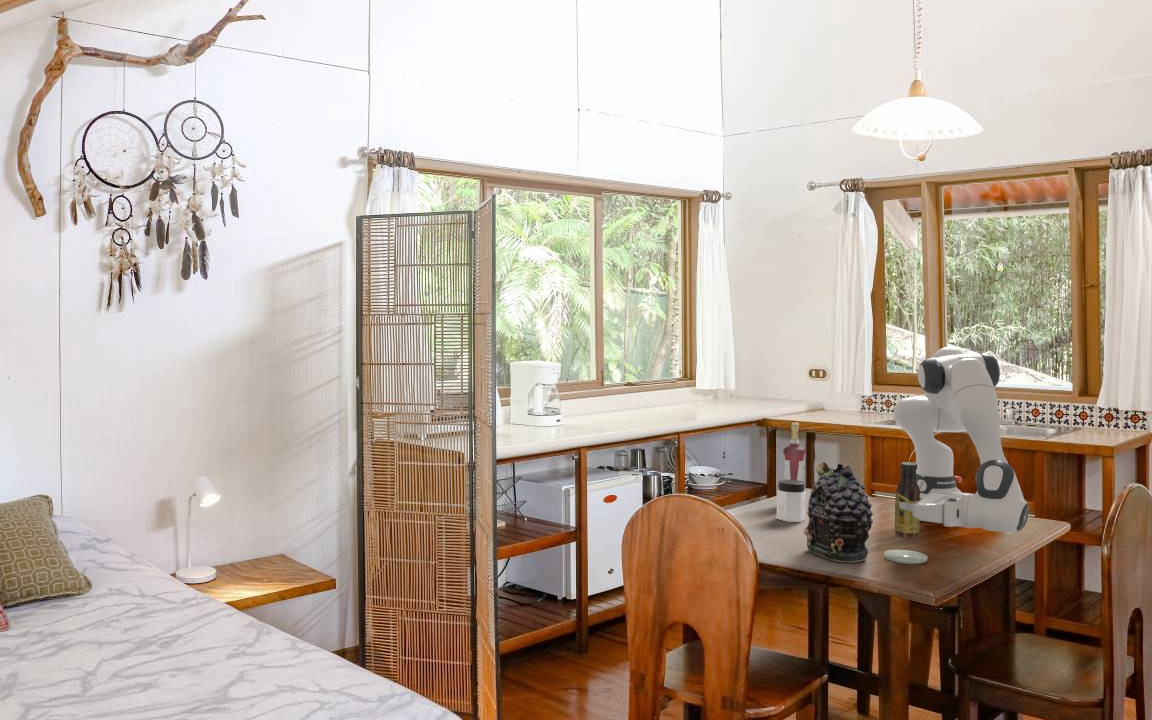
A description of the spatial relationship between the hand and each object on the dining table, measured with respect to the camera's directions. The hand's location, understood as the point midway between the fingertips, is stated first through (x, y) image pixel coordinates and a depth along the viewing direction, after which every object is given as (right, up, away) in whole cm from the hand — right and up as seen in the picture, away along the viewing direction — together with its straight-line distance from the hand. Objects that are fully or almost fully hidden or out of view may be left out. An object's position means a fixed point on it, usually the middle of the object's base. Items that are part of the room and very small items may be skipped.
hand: (904, 502), depth 255 cm
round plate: (+1, -15, 0) cm, 15 cm away
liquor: (-14, -11, +68) cm, 71 cm away
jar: (-20, -12, +46) cm, 52 cm away
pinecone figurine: (-17, -15, +3) cm, 23 cm away
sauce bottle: (+1, -9, 0) cm, 9 cm away
